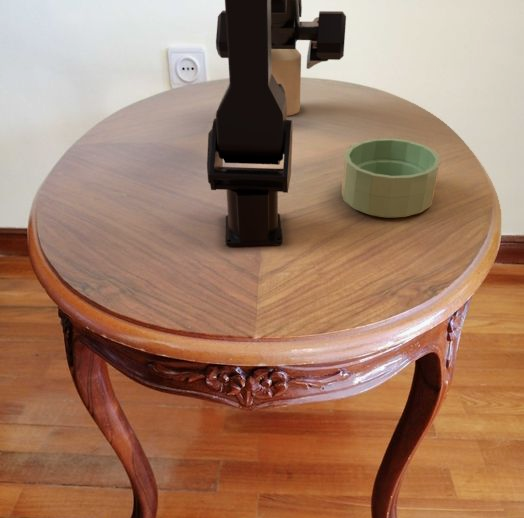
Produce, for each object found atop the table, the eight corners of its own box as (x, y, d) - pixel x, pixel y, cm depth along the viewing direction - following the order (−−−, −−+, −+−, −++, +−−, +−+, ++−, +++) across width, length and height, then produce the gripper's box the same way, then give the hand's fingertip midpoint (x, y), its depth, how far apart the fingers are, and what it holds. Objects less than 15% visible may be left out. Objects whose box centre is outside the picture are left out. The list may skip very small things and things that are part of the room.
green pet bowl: (442, 219, 71) (451, 175, 67) (348, 222, 71) (352, 179, 67) (420, 177, 79) (426, 137, 75) (336, 180, 79) (339, 139, 75)
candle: (262, 114, 97) (261, 48, 91) (272, 103, 101) (271, 39, 94) (295, 117, 96) (296, 51, 89) (303, 106, 100) (305, 41, 93)
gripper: (350, -55, 79) (346, 17, 95) (213, -55, 81) (230, 16, 97) (345, 25, 79) (341, 85, 94) (207, 24, 80) (225, 82, 96)
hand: (284, 65), depth 95 cm, fingers open, 7 cm apart
